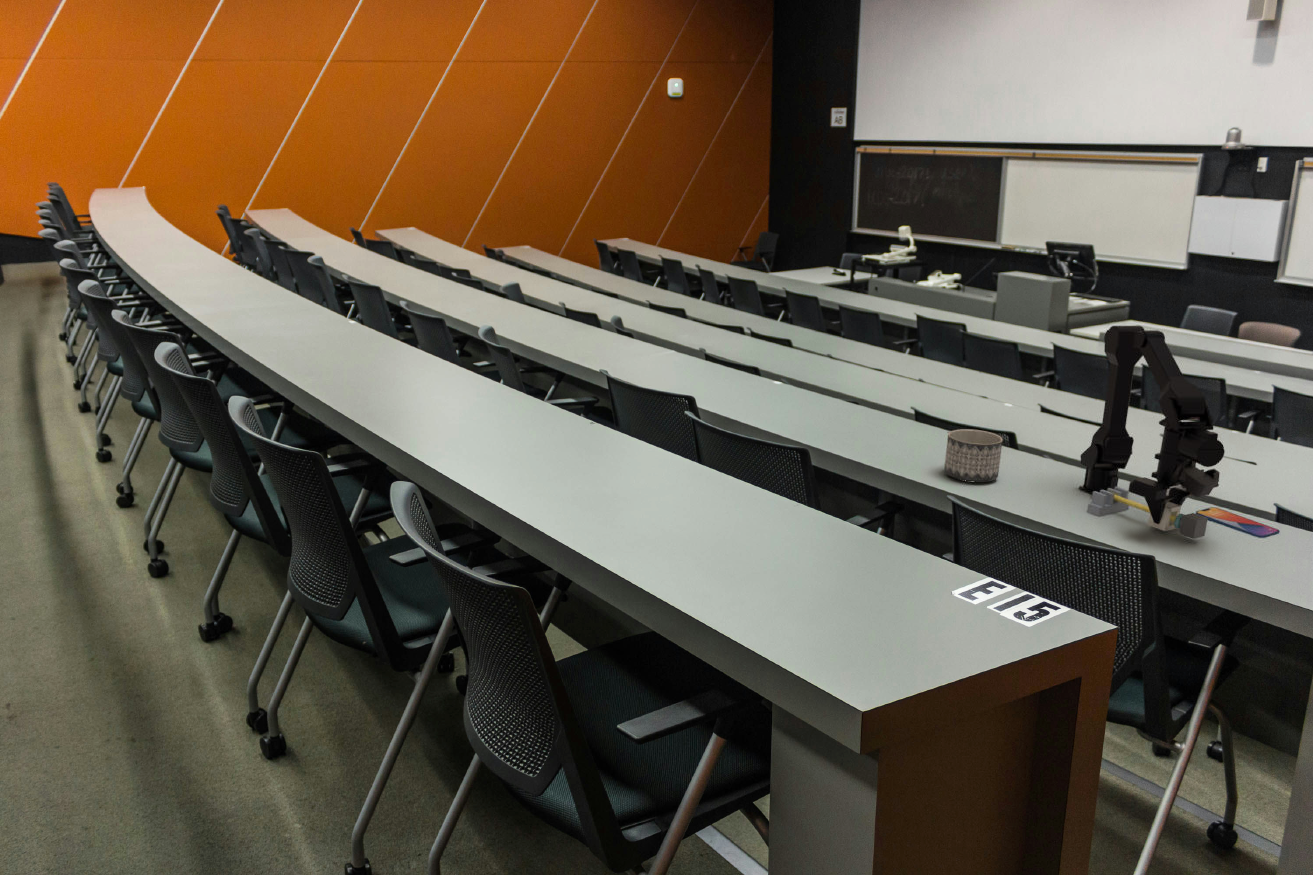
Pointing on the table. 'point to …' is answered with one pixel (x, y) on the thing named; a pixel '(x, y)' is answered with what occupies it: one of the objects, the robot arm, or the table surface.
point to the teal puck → (1178, 521)
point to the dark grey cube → (1193, 525)
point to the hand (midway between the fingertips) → (1163, 521)
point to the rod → (1137, 505)
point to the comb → (1107, 501)
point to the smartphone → (1237, 522)
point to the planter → (973, 455)
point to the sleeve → (1166, 517)
